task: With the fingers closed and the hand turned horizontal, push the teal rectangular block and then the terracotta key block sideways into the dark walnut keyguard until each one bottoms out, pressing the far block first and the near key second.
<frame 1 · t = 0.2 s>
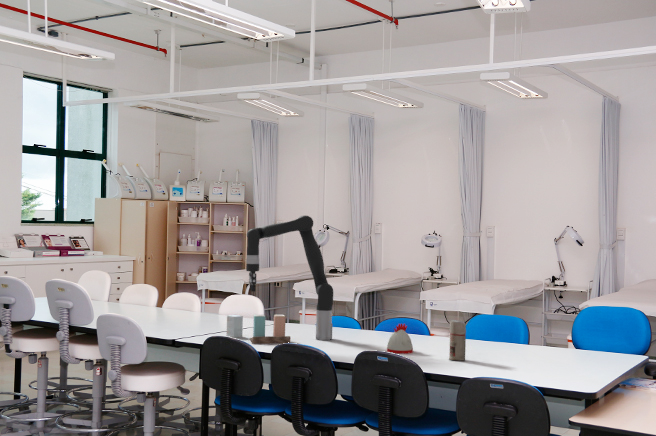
hand: (252, 290, 381), 28 cm above the table, tool pointing down, fingers open, 8 cm apart
teal rectangular block: (259, 327, 372), point 8 cm above the table, slide at 0.0 cm
spray can: (457, 360, 332), on the table
terracotta key: (279, 327, 374), point 8 cm above the table, slide at 0.0 cm
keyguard: (269, 343, 370), on the table
grey and red dome: (399, 351, 353), on the table
small box: (234, 338, 386), on the table
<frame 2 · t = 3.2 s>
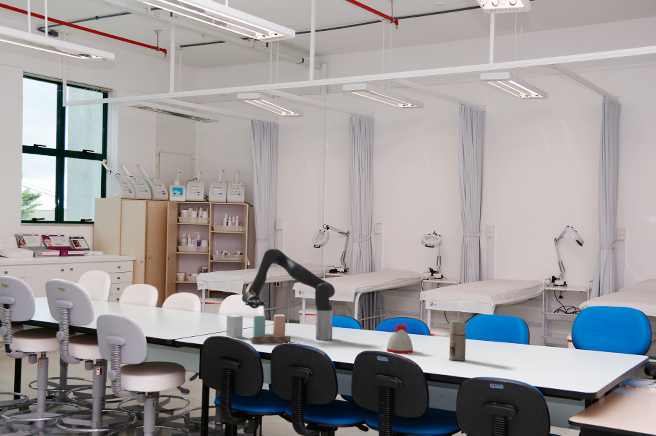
hand: (257, 304, 382), 20 cm above the table, tool horizontal, fingers closed
nothing on the table moved.
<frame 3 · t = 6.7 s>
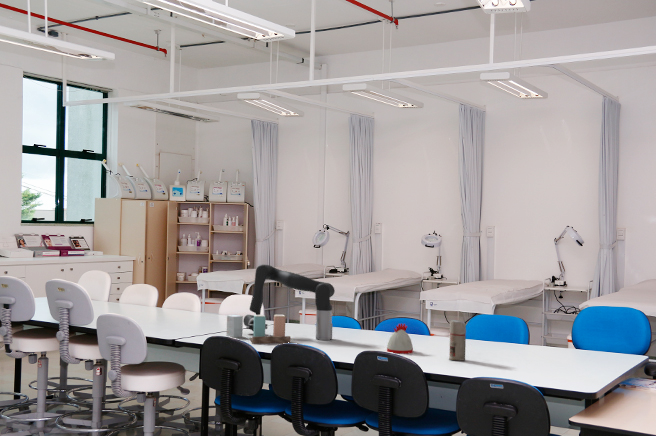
hand: (258, 328, 374), 7 cm above the table, tool horizontal, fingers closed
teal rectangular block: (259, 328, 371), point 8 cm above the table, slide at 0.5 cm, touching gripper
everything else where it was.
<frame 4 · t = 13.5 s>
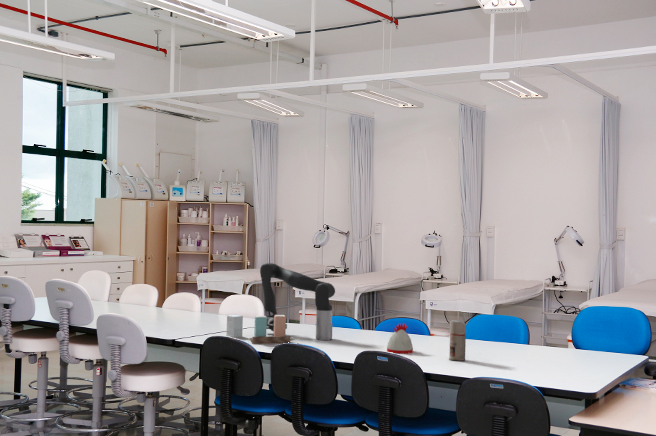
hand: (278, 328, 376), 8 cm above the table, tool horizontal, fingers closed
teal rectangular block: (260, 329, 367), point 8 cm above the table, slide at 5.0 cm
terracotta key: (279, 328, 373), point 8 cm above the table, slide at 1.4 cm, touching gripper
everything else where it was.
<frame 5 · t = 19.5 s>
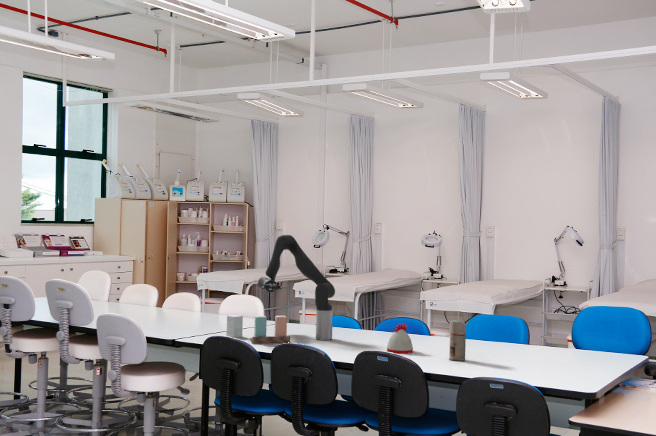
hand: (274, 287, 386), 30 cm above the table, tool horizontal, fingers closed
terracotta key: (280, 328, 370), point 8 cm above the table, slide at 5.0 cm
everything else where it was.
at the end: teal rectangular block slide at 5.0 cm; terracotta key slide at 5.0 cm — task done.
